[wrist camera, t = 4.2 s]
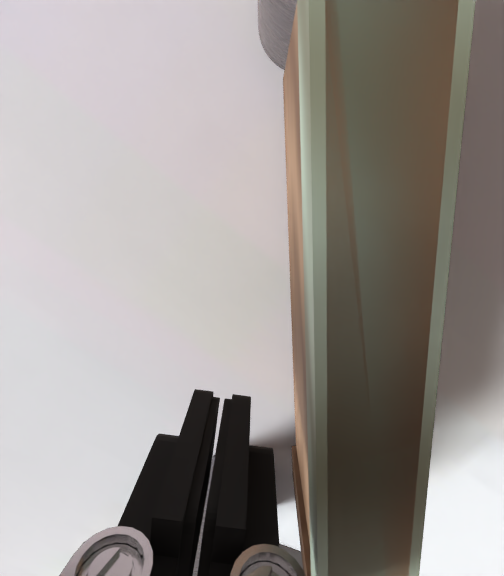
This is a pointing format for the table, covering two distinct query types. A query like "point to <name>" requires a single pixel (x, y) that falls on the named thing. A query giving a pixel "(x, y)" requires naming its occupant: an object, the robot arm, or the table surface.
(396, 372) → the wooden board
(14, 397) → the table surface
